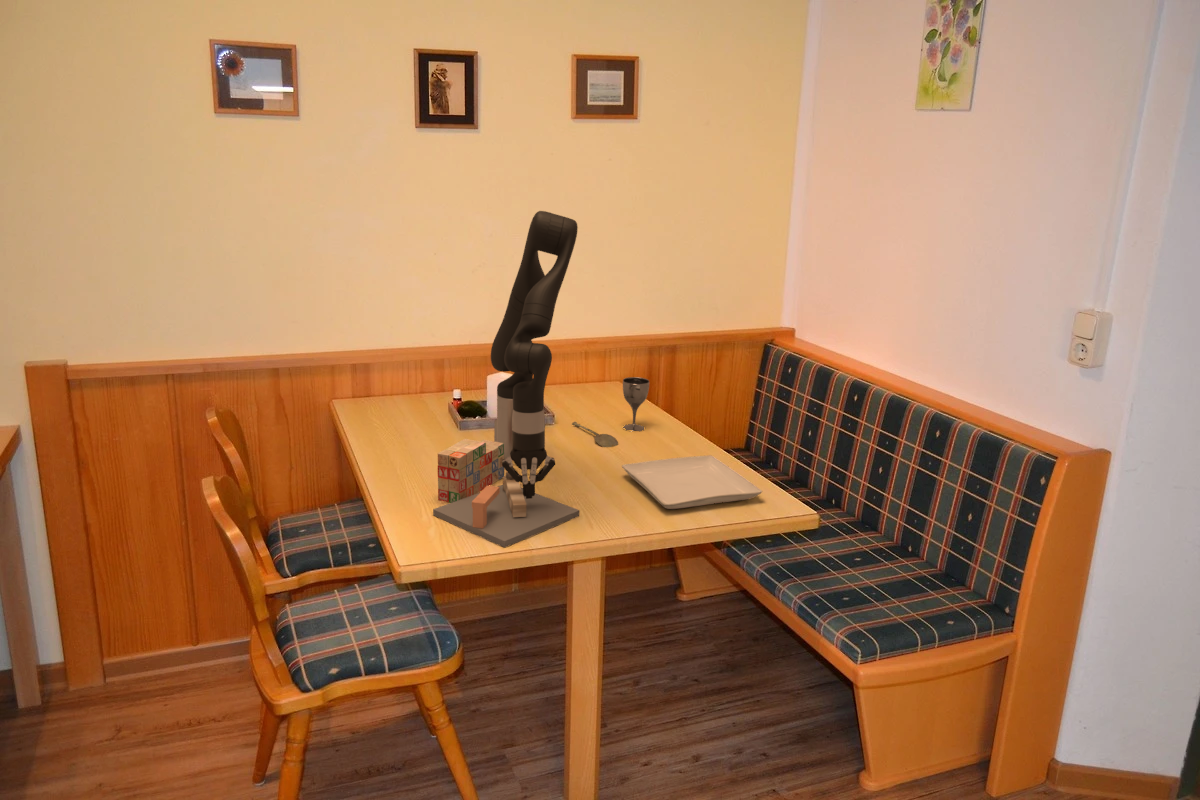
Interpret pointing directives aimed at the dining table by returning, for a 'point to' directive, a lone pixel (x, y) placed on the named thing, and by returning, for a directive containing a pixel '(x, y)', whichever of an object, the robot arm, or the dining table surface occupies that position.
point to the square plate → (691, 481)
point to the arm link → (514, 496)
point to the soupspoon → (601, 437)
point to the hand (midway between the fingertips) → (528, 497)
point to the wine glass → (635, 397)
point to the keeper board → (504, 515)
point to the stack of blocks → (468, 468)
